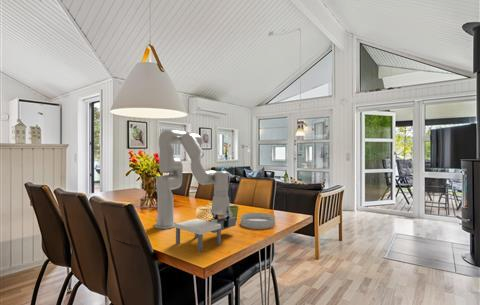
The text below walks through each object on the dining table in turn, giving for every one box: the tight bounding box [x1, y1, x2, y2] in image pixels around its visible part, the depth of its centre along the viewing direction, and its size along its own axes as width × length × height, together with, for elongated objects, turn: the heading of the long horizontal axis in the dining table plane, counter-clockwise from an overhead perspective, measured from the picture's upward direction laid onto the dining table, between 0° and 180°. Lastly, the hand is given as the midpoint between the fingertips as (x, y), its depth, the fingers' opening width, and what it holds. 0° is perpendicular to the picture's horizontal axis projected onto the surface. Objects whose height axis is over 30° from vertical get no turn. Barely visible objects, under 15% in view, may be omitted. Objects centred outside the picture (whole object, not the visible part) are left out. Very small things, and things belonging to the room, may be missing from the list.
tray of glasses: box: [209, 216, 237, 234], centre depth 147 cm, size 6×18×5 cm, turn 143°
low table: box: [175, 218, 222, 253], centre depth 134 cm, size 18×14×10 cm
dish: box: [240, 212, 276, 230], centre depth 172 cm, size 22×22×5 cm
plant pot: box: [228, 205, 240, 220], centre depth 183 cm, size 9×9×9 cm
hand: (221, 225), depth 147 cm, fingers closed on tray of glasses, 6 cm apart
